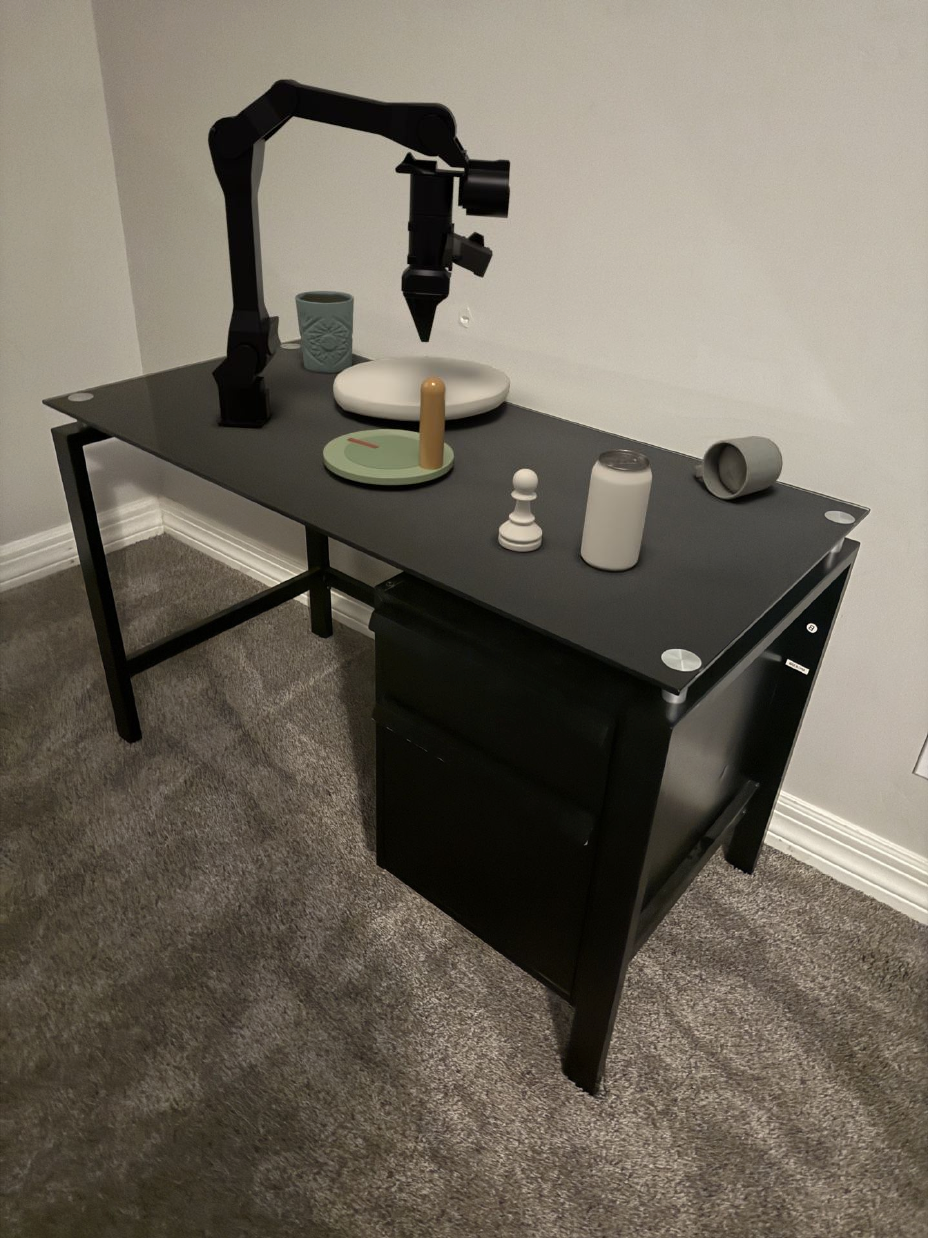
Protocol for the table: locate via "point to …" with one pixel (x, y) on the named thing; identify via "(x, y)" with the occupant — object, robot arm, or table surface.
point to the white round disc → (419, 387)
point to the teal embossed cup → (326, 330)
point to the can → (616, 510)
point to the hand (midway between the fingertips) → (426, 333)
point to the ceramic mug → (740, 466)
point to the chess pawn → (522, 516)
